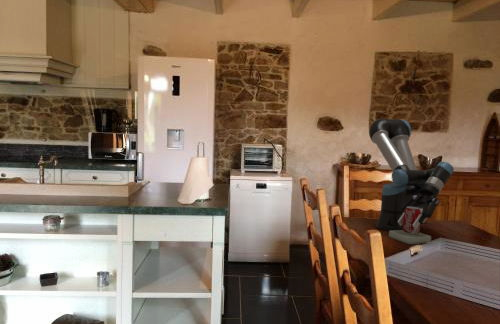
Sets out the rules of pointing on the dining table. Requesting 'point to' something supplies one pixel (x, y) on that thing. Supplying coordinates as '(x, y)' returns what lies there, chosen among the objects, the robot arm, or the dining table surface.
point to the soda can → (411, 220)
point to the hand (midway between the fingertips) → (406, 225)
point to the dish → (409, 237)
